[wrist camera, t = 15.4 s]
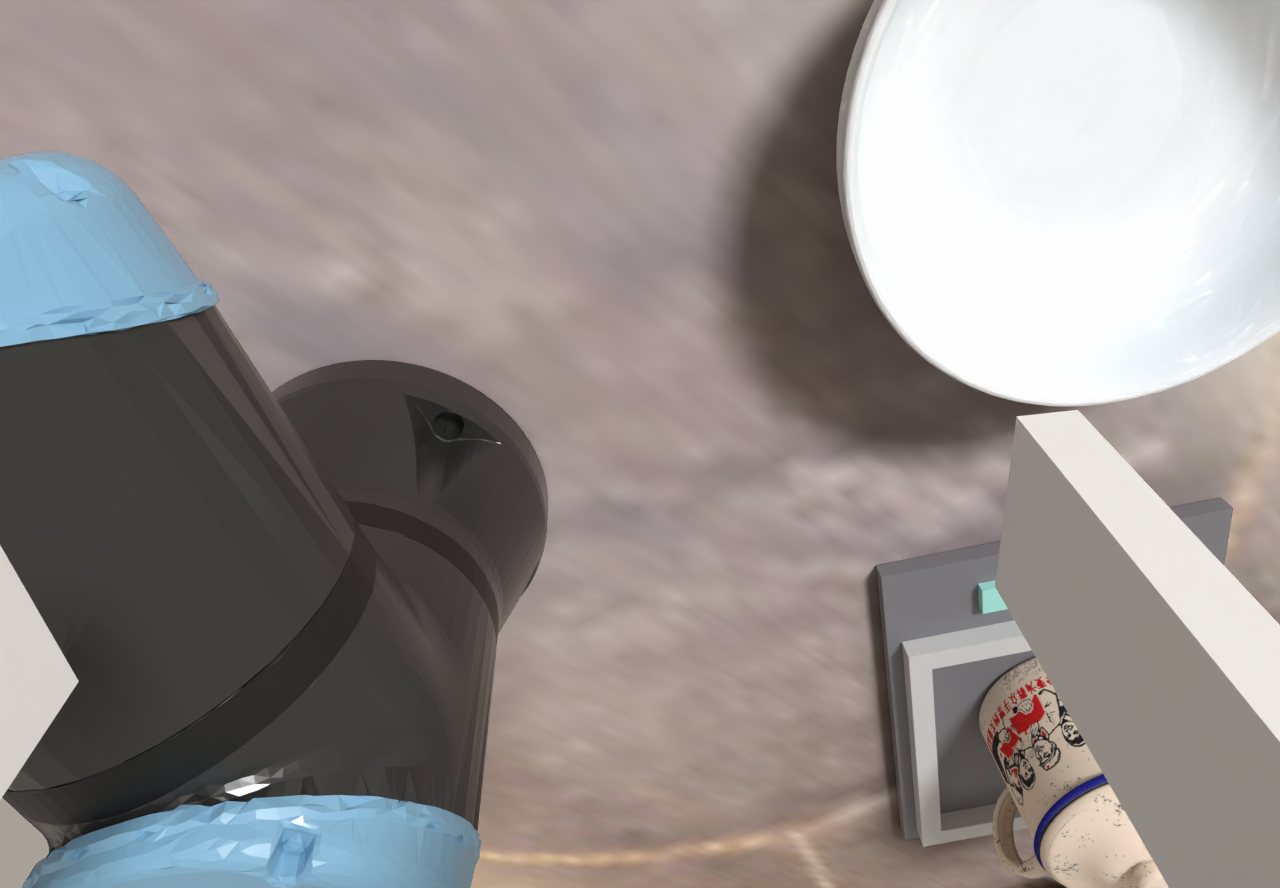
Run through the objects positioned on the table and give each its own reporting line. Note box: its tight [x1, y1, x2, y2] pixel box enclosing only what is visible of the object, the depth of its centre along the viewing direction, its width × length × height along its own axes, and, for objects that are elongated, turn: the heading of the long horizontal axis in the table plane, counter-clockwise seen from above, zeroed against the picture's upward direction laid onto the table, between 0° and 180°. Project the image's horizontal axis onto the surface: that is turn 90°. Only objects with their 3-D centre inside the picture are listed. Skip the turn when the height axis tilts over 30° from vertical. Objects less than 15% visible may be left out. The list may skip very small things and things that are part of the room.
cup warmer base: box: [876, 498, 1233, 847], centre depth 52 cm, size 18×22×2 cm
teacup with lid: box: [979, 657, 1169, 888], centre depth 49 cm, size 12×9×12 cm
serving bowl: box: [836, 0, 1280, 407], centre depth 34 cm, size 21×21×7 cm
